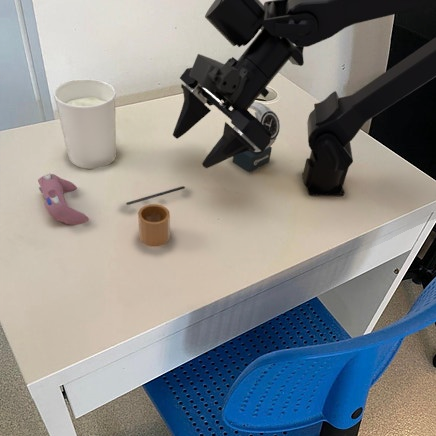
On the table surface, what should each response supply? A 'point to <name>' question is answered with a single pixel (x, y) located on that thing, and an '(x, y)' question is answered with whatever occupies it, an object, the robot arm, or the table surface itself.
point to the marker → (155, 195)
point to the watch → (256, 158)
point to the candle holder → (88, 121)
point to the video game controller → (59, 199)
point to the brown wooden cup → (154, 225)
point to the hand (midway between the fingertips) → (188, 151)
